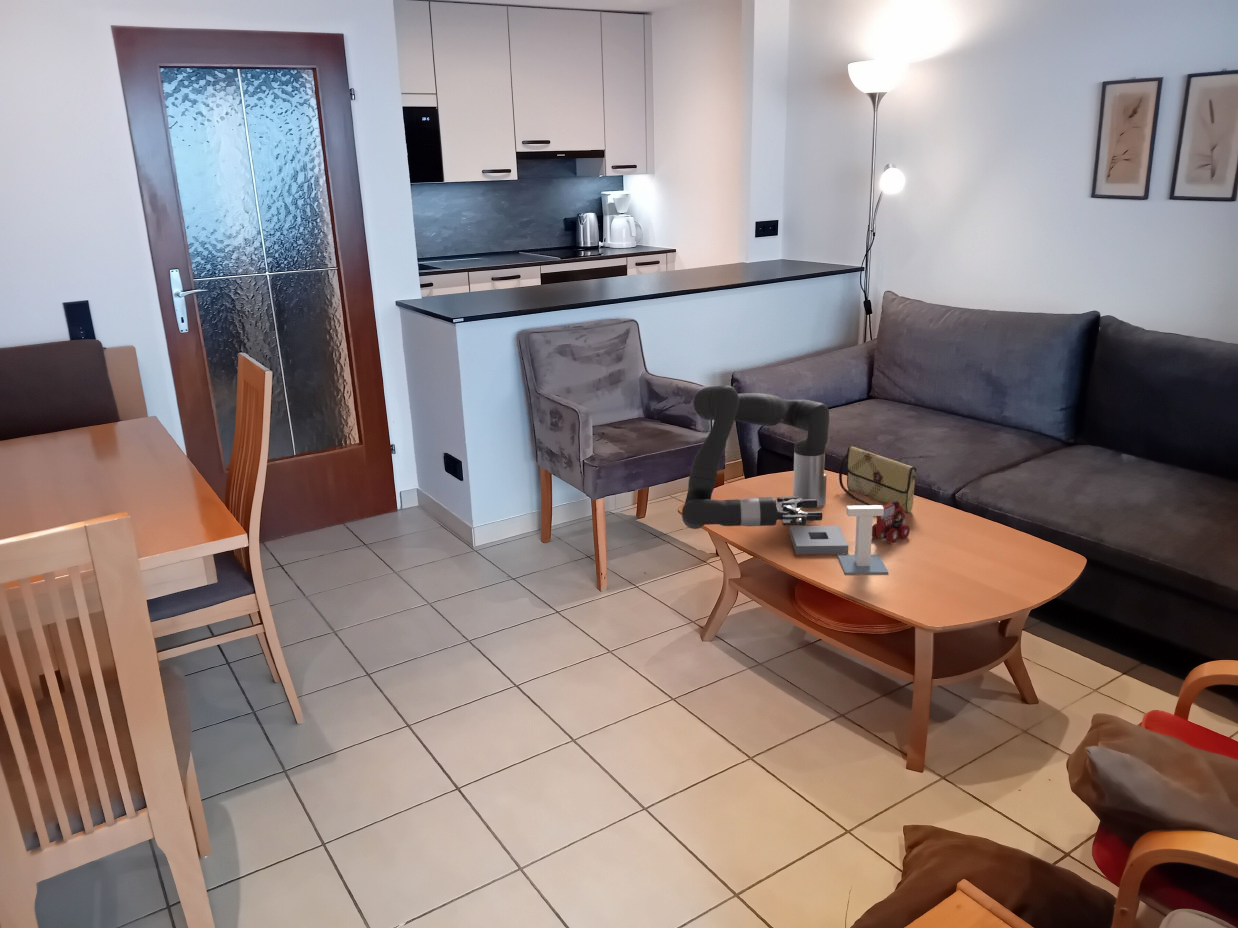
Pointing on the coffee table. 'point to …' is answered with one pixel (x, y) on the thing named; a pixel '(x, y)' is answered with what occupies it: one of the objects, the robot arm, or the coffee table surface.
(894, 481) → the clutch purse
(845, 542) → the socket block
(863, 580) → the coffee table surface
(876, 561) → the mat
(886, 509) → the toy fire truck
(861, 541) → the t key
